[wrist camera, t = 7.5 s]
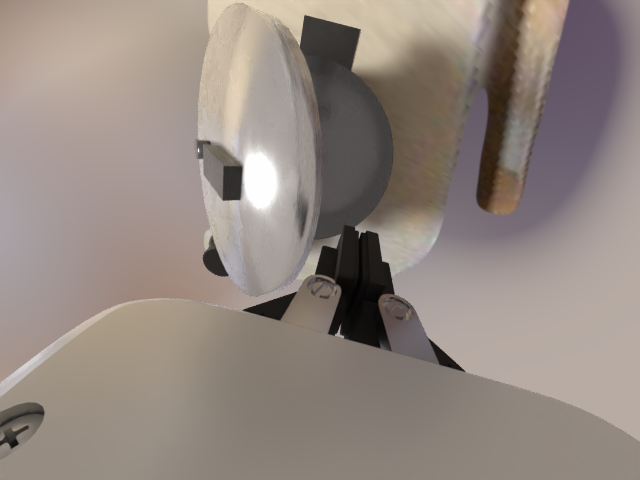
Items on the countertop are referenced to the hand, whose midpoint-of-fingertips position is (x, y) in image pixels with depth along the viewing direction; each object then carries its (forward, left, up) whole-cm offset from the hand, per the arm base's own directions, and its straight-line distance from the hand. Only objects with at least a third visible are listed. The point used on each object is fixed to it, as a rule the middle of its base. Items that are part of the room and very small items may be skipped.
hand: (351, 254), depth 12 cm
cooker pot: (0, -6, -27) cm, 28 cm away
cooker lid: (0, -9, -8) cm, 12 cm away
